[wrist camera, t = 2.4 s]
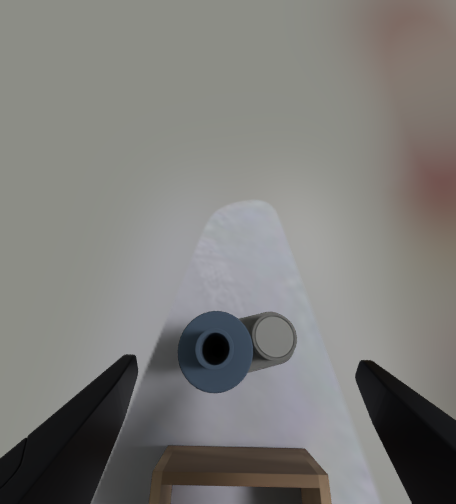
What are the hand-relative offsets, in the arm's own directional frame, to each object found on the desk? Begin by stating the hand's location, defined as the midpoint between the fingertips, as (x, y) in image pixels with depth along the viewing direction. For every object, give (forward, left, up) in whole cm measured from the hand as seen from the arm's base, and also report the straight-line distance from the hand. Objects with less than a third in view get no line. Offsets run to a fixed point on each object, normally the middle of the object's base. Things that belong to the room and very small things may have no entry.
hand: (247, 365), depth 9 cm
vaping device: (+1, 0, -9) cm, 9 cm away
